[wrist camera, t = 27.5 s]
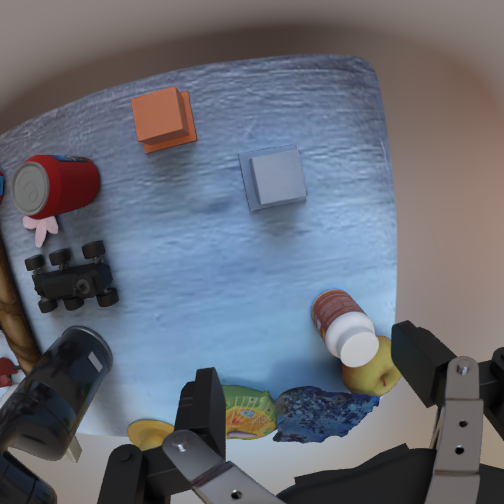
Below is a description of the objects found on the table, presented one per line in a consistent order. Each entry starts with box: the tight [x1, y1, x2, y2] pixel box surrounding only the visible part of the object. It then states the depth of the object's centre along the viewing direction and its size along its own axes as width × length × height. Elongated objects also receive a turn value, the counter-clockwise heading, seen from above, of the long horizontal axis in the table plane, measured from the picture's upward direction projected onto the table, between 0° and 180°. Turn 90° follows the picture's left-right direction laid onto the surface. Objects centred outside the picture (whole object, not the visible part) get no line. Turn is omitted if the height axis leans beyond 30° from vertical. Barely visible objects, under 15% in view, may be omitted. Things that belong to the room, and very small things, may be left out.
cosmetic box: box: [62, 435, 82, 463], centre depth 43 cm, size 6×4×12 cm
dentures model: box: [0, 357, 17, 388], centre depth 39 cm, size 6×4×8 cm
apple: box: [341, 336, 402, 397], centre depth 39 cm, size 10×10×8 cm
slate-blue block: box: [249, 150, 307, 205], centre depth 33 cm, size 5×5×5 cm
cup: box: [127, 420, 174, 451], centre depth 43 cm, size 12×12×5 cm
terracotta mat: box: [143, 91, 197, 154], centre depth 33 cm, size 6×6×1 cm
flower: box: [22, 216, 58, 248], centre depth 34 cm, size 10×10×2 cm
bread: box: [0, 237, 41, 376], centre depth 36 cm, size 38×5×5 cm, turn 6°
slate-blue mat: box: [239, 144, 306, 211], centre depth 35 cm, size 7×7×1 cm
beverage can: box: [11, 155, 100, 220], centre depth 28 cm, size 7×7×12 cm
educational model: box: [221, 385, 278, 440], centre depth 41 cm, size 13×16×5 cm
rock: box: [273, 386, 380, 443], centre depth 39 cm, size 15×17×2 cm
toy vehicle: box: [25, 241, 119, 313], centre depth 33 cm, size 8×15×9 cm, turn 99°
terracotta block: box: [131, 86, 190, 145], centre depth 30 cm, size 5×5×5 cm
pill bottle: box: [311, 289, 379, 367], centre depth 35 cm, size 6×6×11 cm
